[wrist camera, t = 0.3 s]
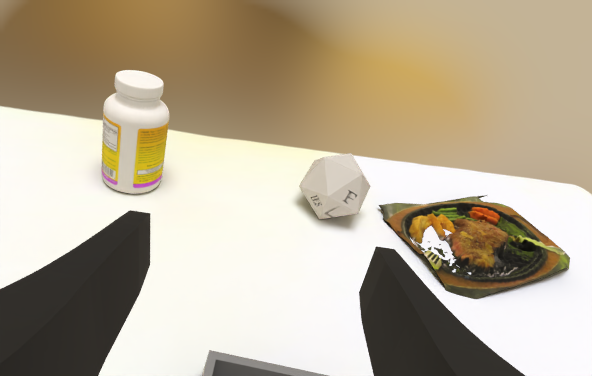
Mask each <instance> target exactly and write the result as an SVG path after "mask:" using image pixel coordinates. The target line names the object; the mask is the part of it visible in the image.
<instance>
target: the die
mask: <svg viewBox="0 0 592 376" xmlns="http://www.w3.org/2000/svg"><path fill="white" fill-rule="evenodd" d="M299 187H300V188H301V190H302V192H303V193H304V195H305V197H306V198H307V200H308V202H309V203H310V205H311V207H312V208H313V210H314V211H315V213H316V215H317V216H318V218H319V219H326V218H332V217H339V216H345V215H352V214H358V212H359V210H360V208H361V206H362V203H363V201H364V199H365V197H366V195H367V192H368V190H369V188H370V185H369V183H368V181H367V180H366V178H365V176H364V175H363V173H362V171H361V169H360V168H359V166H358V164H357V163H356V161H355V159H354V158H353V156H352V154H351V153H349V154H342V155H335V156H328V157H323V158H320V159H318V160H315V161H314V162H313V164H312V166H311V167H310V169H309V170H308V172H307V174H306V175H305V177H304V179H303V180H302V182H301V183H300V185H299Z"/></svg>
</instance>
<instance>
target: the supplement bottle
mask: <svg viewBox="0 0 592 376" xmlns="http://www.w3.org/2000/svg"><path fill="white" fill-rule="evenodd" d="M115 88H116V91H117V93H115V94H113V95H111V96H110V97H108V98H107V100H106V101H105V103H104V111H103V144H102V177H103V180H104V182H105V183H106V184H107V185H108V186H110V187H111V188H113V189H115V190H117V191H121V192H125V193H133V194H137V193H144V192H148V191H151V190H153V189H154V188H156V187H157V186H158V185H159V183H160V181H161V178H162V170H163V163H164V155H165V147H166V139H167V130H168V123H169V111H168V108H167V106H166V105H165V104H164V103H163V102H162V101H161V100H160V97H161V95H162V94H163V81H162V80H161V79H160V78H158V77H157V76H155V75H152V74H149V73H146V72H142V71H135V70H124V71H120V72H118V73H117V74H116V77H115Z"/></svg>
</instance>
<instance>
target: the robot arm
mask: <svg viewBox="0 0 592 376" xmlns="http://www.w3.org/2000/svg"><path fill="white" fill-rule="evenodd" d="M149 266H150V213H143V212H137V211H128V212H127V213H125V214H124V215H123V216H121V217H120V218H118V219H117V220H115V221H114V222H112V223H111V224H110V225H108V226H107V227H105V228H104V229H103V230H101V231H100V232H98V233H97V234H95V235H94V236H92V237H91V238H89V239H88V240H86V241H85V242H84V243H82V244H81V245H79V246H78V247H76V248H75V249H73V250H71V251H70V252H68V253H66V254H65V255H63V256H61V257H60V258H58V259H57V260H55V261H53V262H52V263H50V264H48V265H47V266H45V267H43V268H41V269H39V270H38V271H36V272H34V273H32V274H30V275H28V276H26V277H24V278H22V279H20V280H18V281H16V282H14V283H12V284H10V285H8V286H6V287H4V288H2V289H0V376H98V375H99V372H100V370H101V368H102V366H103V364H104V362H105V359H106V357H107V355H108V353H109V352H110V350H111V348H112V346H113V344H114V342H115V340H116V338H117V336H118V334H119V332H120V330H121V328H122V327H123V325H124V323H125V321H126V319H127V317H128V315H129V313H130V311H131V309H132V307H133V305H134V303H135V301H136V299H137V297H138V295H139V293H140V291H141V288H142V285H143V283H144V280H145V277H146V274H147V271H148V268H149ZM359 295H360V308H361V318H362V324H363V329H364V334H365V338H366V343H367V347H368V351H369V356H370V360H371V365H372V369H373V373H374V376H525V375H524V374H522V373H521V372H520V371H518V370H517V369H516V368H514V367H513V366H512V365H510V364H509V363H508V362H507V361H505V360H504V359H503V358H501V357H500V356H499V355H498V354H496V353H495V352H494V351H493V350H491V349H490V348H489V347H488V346H487V345H486V344H484V343H483V342H482V341H481V340H480V339H479V338H478V337H476V336H475V335H474V334H473V333H472V332H471V331H470V330H469V329H467V328H466V327H465V326H464V325H463V324H462V323H461V322H460V321H459V320H458V319H457V318H456V317H455V316H454V315H453V314H452V313H451V312H450V311H449V310H448V309H447V308H446V307H445V306H444V305H443V304H442V303H441V302H440V300H439V299H438V298H437V297H436V296H435V295H434V294H433V293H432V292H431V291H430V290H429V288H428V287H427V286H426V285H425V284H424V283H423V282H422V280H421V279H420V278H419V277H418V276H417V275H416V274H415V272H414V271H413V270H412V269H411V268H410V267H409V265H408V264H407V263H406V262H405V261H404V260H403V258H402V257H401V256H400V255H399V254H398V253H397V252H396V251H395V250H394V249H389V248H382V247H376V248H375V251H374V254H373V257H372V259H371V262H370V265H369V267H368V270H367V273H366V275H365V278H364V281H363V284H362V286H361V289H360V292H359Z"/></svg>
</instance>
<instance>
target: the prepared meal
mask: <svg viewBox="0 0 592 376" xmlns="http://www.w3.org/2000/svg"><path fill="white" fill-rule="evenodd" d="M486 196H487V195H486ZM481 197H484V196H478V197H467V198H461V199H456V200H450V201H444V202H437V203H430V204H405V203H393V204H385V205H379V206H380V208H381V209H382V210H383V211H384V217H383V219H384V220H385V222H386V223H387V224H388V225H389V227H390V228H391V229H392V228H393V229H394V230H395V232H396V233H397V234H398V235H399V236H400V237H401V238H403V239H404V240H405V241H407V242H408V243H409V244H410V245H411V246H412V247H413V249H414V250H415V251H417V252H418V253H419V254H424V255H425V256H426V257H427V259H428V260H429V262H430V263H431V265H432V266H433V268H434V270H435V271H436V273H437V275H438V276H439V278H440V279H441V281H442V282H443V283H444V286H445V289H446V291H448V292H451V293H454V294H457V295H461V296H465V297H468V298H473V299H477V298H480V297H483V296H486V295H489V294H492V293H495V292H499V291H502V290H505V289H508V288H512V287H515V286H518V285H522V284H525V283H528V282H531V281H534V280H538V279H541V278H544V277H547V276H549V275H551V274H554V273H556V272H558V271H560V270H562V269H564V268H566V267H567V268H568V269H569V262H570V257H569V256H568V255H567V254H566V253H565V252H564V251H563V250H562V249H561V248H560V247H558V246H557V245H556V244H555V243H554V242H552V241H551V240H550V239H549V238H548V237H547V236H546V235H544V234H543V233H541V232H540V231H539V230H538V229H536V228H535V227H534V226H533V225H532V224H530V223H529V222H528V221H527V220H525V219H524V218H523V217H522V216H521V215H519V214H518V213H517V212H516V211H514V210H513V209H512V208H510V207H508V206H505V205H502V204H498V203H488V202H483V201H481V200H480V199H479V198H481ZM431 225H432V227H433V228H434V230H435V231H436V233H437V235H438V237H439V239H440V240H441V241H444V240H445V241H446V242H447V243H448V244H449V246H450V248H451V251H452V252H453V253H452V255H453V256H454V257H455V258H453V260H454V259H456V261H455V263H453V264H452V266H449V264H450V259H449V263H448V260H443V259H441V258H439V256H438V255H436V254H434V253H433V252H431V251H429V250H431V247H432V246H431V247H430V248H428V249H429V250H428V251H425V253H423V252H422V251H421V250H425V249H424V248H422V247H421V246H420V245H419V244H421V243H422V238H423V233H424V232H425V229H427V227H429V226H431ZM443 229H446V230H448V231H450V232H452V233H453V234H449V235H448V236H447V235H445V232H444V230H443ZM446 236H447V237H446ZM410 238H411V239H412V240H413V242H414V244H415V245H414V244H413V243H412V241H411V240H410ZM416 242H418V243H419V244H417V243H416ZM429 242H430V241H429ZM439 245H441V244H439ZM434 249H436V250H437V251H438V252H439V254H440V255H442V256H443V257H445V255H444V254H443V250H442V249H438V248H435V247H434ZM444 253H447V252H444ZM455 264H456V265H458V266H459V267H460V268H459V267H457V266H456V265H455ZM454 269H456V273H455V272H454V273H453V272H452V270H454ZM467 272H471V275H469V274H468V273H467Z"/></svg>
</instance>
